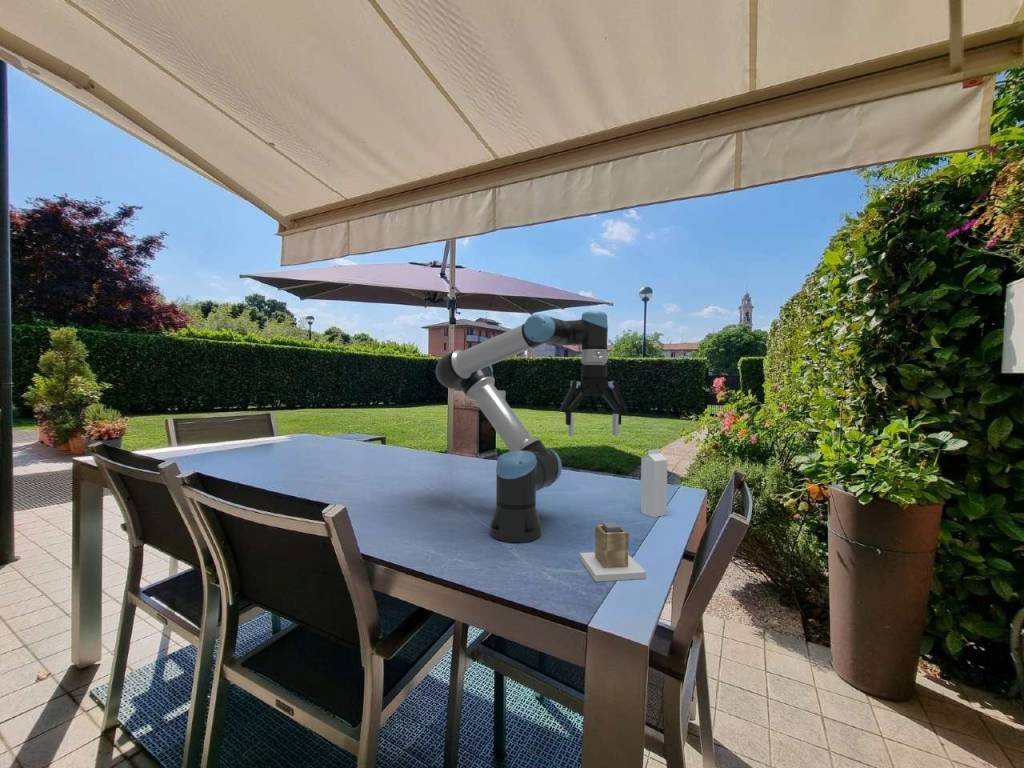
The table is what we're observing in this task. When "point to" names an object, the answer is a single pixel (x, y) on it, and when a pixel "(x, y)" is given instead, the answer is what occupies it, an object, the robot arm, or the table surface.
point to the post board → (611, 573)
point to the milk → (654, 484)
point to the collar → (611, 547)
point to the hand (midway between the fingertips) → (593, 436)
